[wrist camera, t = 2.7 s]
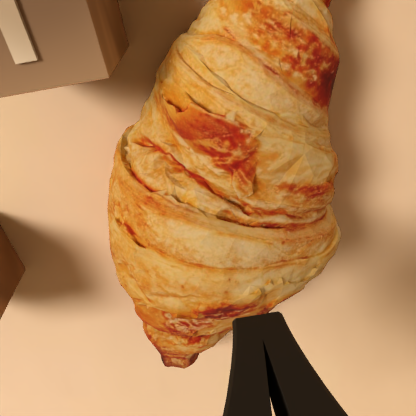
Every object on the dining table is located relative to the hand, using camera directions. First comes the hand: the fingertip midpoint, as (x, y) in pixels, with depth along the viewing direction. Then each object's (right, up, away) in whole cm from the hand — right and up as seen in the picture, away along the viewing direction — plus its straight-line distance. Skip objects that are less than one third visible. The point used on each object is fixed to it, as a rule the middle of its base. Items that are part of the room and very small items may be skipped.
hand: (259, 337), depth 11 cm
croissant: (-1, +5, +8) cm, 9 cm away
